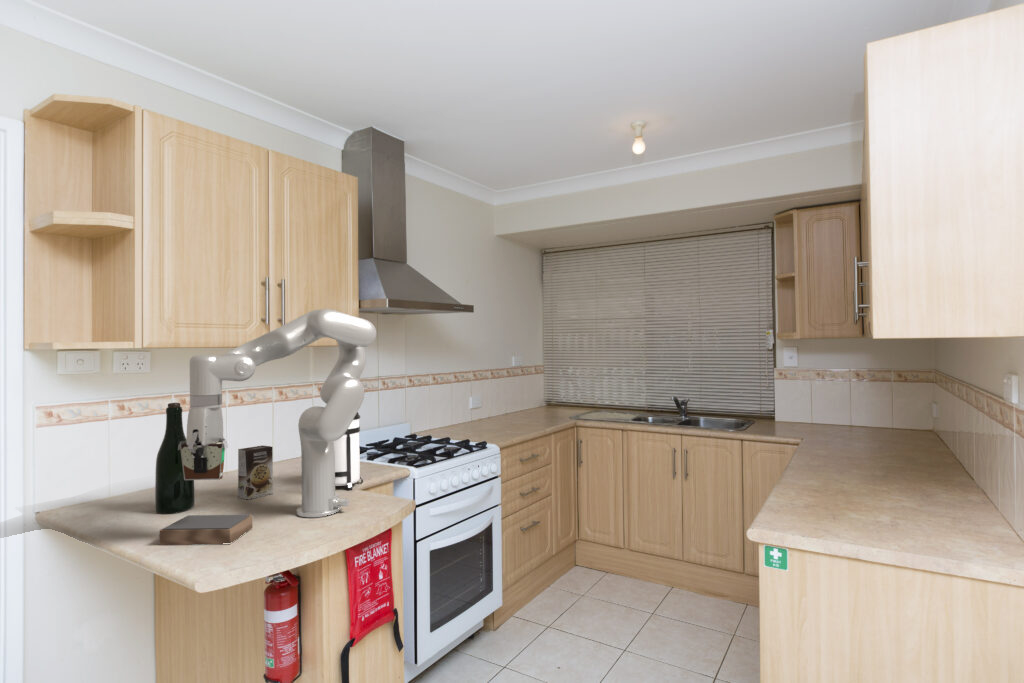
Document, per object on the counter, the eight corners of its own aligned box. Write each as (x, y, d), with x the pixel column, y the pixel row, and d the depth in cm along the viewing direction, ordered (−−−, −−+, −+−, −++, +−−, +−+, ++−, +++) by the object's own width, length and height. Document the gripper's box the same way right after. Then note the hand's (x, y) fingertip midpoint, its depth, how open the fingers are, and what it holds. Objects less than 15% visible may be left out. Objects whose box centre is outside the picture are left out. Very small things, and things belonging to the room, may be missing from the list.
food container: (237, 473, 151) (236, 436, 151) (225, 479, 145) (224, 440, 145) (192, 474, 152) (191, 437, 152) (178, 480, 145) (177, 441, 145)
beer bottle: (179, 503, 180) (178, 400, 180) (202, 506, 176) (201, 401, 176) (147, 512, 170) (146, 404, 170) (171, 516, 166) (169, 405, 166)
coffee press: (312, 485, 200) (311, 401, 200) (356, 479, 209) (355, 398, 209) (325, 496, 185) (324, 406, 185) (372, 489, 194) (371, 402, 194)
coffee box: (247, 500, 182) (246, 450, 182) (237, 497, 186) (237, 448, 186) (273, 493, 190) (273, 446, 190) (263, 491, 194) (263, 444, 194)
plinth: (252, 528, 154) (252, 514, 154) (230, 544, 142) (229, 528, 142) (187, 529, 154) (187, 514, 154) (159, 545, 142) (159, 529, 142)
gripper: (209, 398, 156) (210, 463, 156) (172, 405, 139) (172, 478, 139) (236, 398, 156) (237, 463, 156) (202, 405, 139) (202, 478, 139)
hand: (206, 469), depth 148 cm, fingers closed on food container, 5 cm apart
